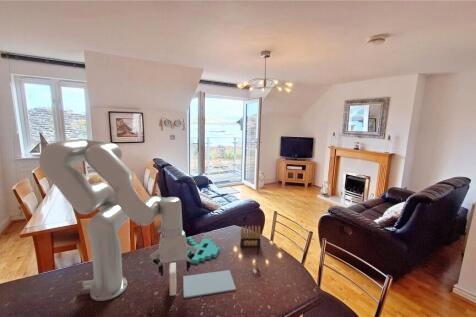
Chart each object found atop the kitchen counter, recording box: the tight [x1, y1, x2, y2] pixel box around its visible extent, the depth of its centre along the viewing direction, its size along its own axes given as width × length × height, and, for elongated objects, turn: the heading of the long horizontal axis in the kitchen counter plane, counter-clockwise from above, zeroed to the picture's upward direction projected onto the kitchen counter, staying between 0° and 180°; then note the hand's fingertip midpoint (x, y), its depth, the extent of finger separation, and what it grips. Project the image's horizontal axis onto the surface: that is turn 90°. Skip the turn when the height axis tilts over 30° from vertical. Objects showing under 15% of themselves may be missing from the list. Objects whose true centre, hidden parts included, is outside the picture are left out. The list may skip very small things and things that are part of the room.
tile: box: [168, 261, 177, 297], centre depth 90 cm, size 2×7×9 cm, turn 14°
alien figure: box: [186, 236, 221, 264], centre depth 118 cm, size 20×2×20 cm
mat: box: [182, 269, 237, 299], centre depth 94 cm, size 20×12×1 cm, turn 104°
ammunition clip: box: [239, 225, 261, 249], centre depth 123 cm, size 11×2×12 cm, turn 94°
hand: (175, 271), depth 90 cm, fingers open, 9 cm apart
